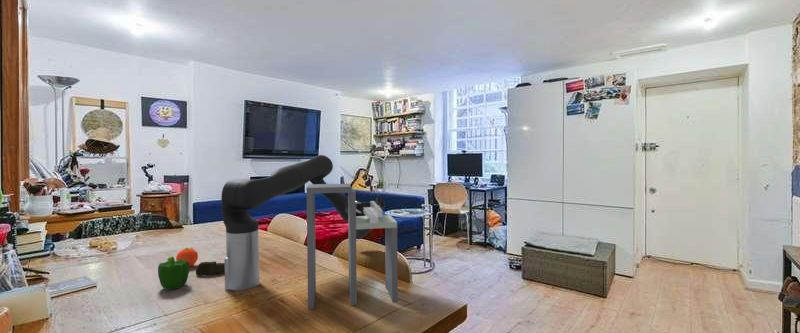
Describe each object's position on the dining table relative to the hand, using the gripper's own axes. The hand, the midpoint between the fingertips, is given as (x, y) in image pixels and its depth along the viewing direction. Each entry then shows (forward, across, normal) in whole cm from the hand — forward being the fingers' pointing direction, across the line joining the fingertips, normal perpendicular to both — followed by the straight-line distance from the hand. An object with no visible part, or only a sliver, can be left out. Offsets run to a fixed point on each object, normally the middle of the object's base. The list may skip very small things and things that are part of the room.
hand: (366, 198), depth 121 cm
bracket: (+13, 0, +12) cm, 18 cm away
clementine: (-30, -64, +12) cm, 72 cm away
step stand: (+6, -6, +33) cm, 34 cm away
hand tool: (-20, -48, +18) cm, 55 cm away
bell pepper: (-11, -60, +24) cm, 66 cm away
